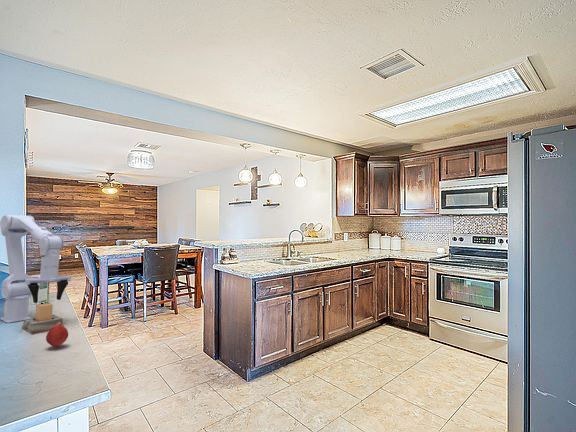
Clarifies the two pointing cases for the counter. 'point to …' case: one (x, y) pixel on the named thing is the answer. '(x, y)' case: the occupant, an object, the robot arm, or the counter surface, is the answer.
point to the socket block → (40, 324)
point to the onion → (57, 335)
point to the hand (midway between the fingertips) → (47, 301)
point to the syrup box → (41, 292)
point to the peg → (43, 312)
